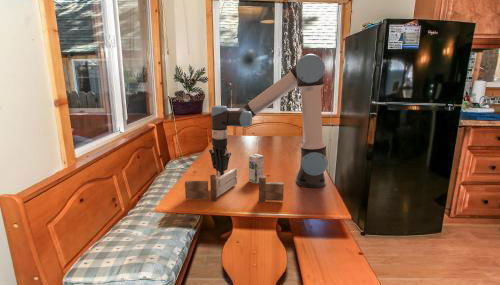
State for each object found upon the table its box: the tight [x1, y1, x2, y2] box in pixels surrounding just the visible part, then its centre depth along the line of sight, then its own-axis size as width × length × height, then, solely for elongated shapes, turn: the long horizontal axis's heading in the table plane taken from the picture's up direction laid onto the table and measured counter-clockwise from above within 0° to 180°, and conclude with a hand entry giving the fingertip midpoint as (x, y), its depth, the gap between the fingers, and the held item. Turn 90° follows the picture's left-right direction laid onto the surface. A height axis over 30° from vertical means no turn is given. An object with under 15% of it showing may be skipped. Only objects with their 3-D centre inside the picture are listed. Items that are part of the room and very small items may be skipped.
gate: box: [216, 167, 238, 198], centre depth 141 cm, size 18×2×8 cm, turn 153°
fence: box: [184, 174, 285, 204], centre depth 131 cm, size 44×3×12 cm, turn 88°
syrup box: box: [248, 153, 265, 185], centre depth 153 cm, size 6×6×14 cm
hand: (220, 182), depth 148 cm, fingers closed
